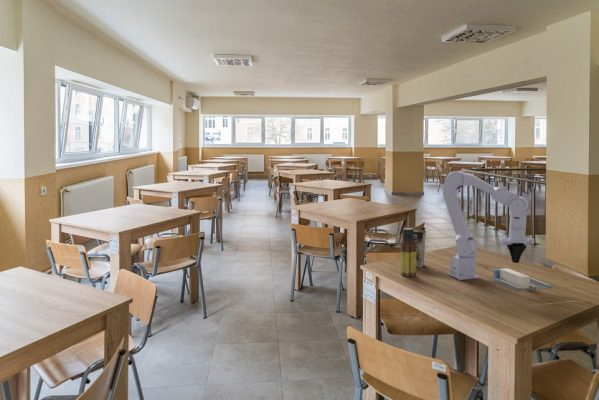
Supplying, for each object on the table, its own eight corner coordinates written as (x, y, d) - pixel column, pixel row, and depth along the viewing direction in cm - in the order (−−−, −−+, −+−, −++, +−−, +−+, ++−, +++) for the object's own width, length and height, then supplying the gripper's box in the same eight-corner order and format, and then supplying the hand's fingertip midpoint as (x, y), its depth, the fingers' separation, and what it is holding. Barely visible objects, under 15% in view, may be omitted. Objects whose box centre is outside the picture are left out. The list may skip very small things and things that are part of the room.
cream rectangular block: (521, 288, 171) (522, 277, 170) (499, 279, 182) (500, 268, 182) (529, 288, 172) (530, 276, 171) (507, 279, 183) (507, 268, 183)
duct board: (516, 292, 168) (517, 280, 167) (488, 280, 183) (488, 269, 183) (556, 288, 172) (557, 277, 172) (525, 276, 188) (526, 266, 187)
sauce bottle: (414, 273, 193) (416, 227, 190) (417, 277, 187) (418, 230, 184) (399, 272, 193) (400, 226, 191) (401, 277, 187) (402, 229, 185)
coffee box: (401, 265, 205) (402, 230, 203) (404, 262, 211) (405, 228, 209) (421, 268, 201) (422, 232, 199) (424, 264, 207) (426, 229, 205)
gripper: (508, 230, 169) (506, 266, 171) (541, 228, 173) (538, 263, 174) (496, 227, 176) (494, 261, 177) (527, 225, 179) (525, 259, 181)
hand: (515, 262), depth 176 cm, fingers closed
